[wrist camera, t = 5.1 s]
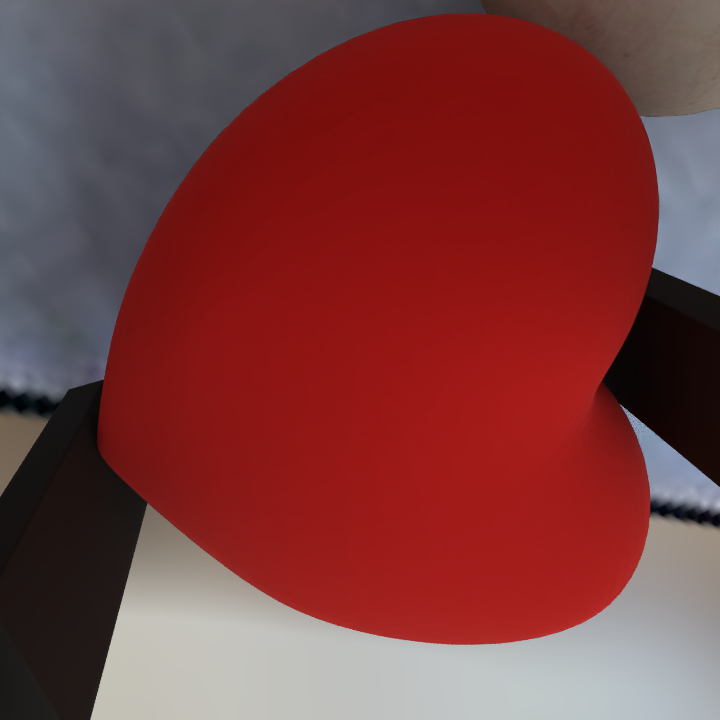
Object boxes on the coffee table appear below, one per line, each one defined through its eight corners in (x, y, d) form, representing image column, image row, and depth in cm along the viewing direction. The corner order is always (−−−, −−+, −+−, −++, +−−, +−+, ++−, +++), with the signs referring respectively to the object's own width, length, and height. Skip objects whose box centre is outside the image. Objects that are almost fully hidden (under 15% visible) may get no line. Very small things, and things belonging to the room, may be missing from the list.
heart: (220, 553, 18) (598, 494, 17) (172, 764, 13) (695, 698, 12) (21, 97, 12) (586, -33, 11) (-200, 178, 7) (765, -39, 6)
